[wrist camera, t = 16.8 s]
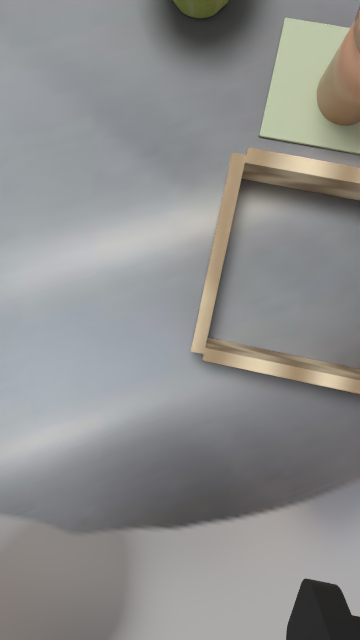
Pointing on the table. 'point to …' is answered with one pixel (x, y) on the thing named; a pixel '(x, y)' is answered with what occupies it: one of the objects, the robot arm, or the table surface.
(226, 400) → the table surface
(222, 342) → the frame
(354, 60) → the seedling pot
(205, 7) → the plant pot
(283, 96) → the green mat
